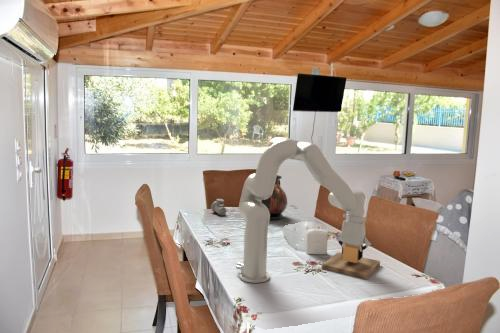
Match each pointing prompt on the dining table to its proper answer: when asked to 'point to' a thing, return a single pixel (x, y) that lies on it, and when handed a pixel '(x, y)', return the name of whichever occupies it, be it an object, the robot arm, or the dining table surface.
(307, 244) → the photo printer
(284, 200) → the amphora vase
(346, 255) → the solid orange cube
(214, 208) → the grey lumpy piece
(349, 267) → the board
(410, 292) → the dining table surface
